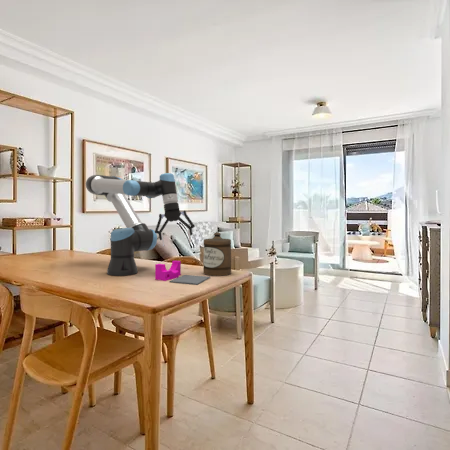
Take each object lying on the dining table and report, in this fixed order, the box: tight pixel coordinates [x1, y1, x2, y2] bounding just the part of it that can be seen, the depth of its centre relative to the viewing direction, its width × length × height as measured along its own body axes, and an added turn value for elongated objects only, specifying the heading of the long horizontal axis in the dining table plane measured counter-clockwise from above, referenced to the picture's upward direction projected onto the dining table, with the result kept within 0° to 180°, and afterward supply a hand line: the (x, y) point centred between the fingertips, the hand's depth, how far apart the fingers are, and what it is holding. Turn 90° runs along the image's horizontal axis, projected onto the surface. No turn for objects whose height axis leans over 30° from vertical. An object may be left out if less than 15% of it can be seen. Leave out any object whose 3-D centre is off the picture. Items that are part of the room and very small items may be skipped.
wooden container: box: [202, 231, 232, 277], centre depth 174 cm, size 15×15×22 cm
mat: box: [169, 274, 211, 286], centre depth 156 cm, size 14×16×1 cm
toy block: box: [154, 260, 182, 282], centre depth 162 cm, size 15×6×8 cm, turn 150°
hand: (177, 244), depth 166 cm, fingers open, 13 cm apart
